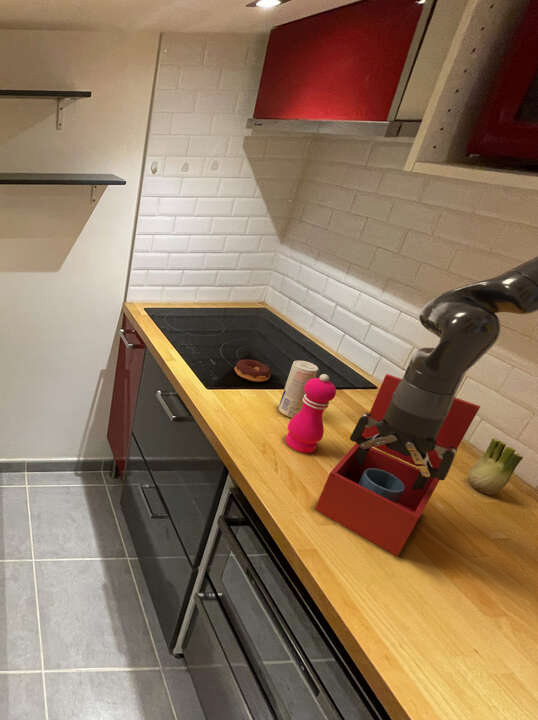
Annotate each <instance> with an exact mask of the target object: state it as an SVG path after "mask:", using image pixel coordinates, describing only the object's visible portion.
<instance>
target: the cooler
mask: <svg viewBox="0 0 538 720" xmlns="http://www.w3.org/2000/svg"><path fill="white" fill-rule="evenodd" d="M358 449H359V445H358V444H357V443H356V442H355V443H354V445H353V446H352V447H351V448H350V449H349V450H348V451H347V452H346V454H345V455H344V456H343V457H342V458H341V459H340V461H339V462H337V464H336V465H335V466H334V467H333V469H332V470H331V471H330V472H329V474H328V476H327V479H326V481H325V484H324V486H323V488H322V491H321V493H320V496H319V498H318V500H317V503H316V505H315V507H314V509H315V510H316V511H317V512H319V513H321V514H323V515H324V516H326V517H328V518H330V519H331V520H333V521H335V522H337V523H338V524H340V525H341V526H344V527H345V528H346V529H349V530H351V531H352V532H354V533H355V534H357V535H359V536H361V537H363V538H364V539H366V540H368V541H369V542H371V543H373V544H375V545H376V546H378V547H379V548H381V549H383V550H385V551H387V552H389V553H390V554H392V555H394V556H396V557H399V555H400V553H401V551H402V550H403V548H404V546H405V544H406V543H407V541H408V539H409V537H410V535H411V533H412V532H413V529H414V528H415V526H416V524H417V523H418V521H419V519H420V518H421V515H422V514H423V512H424V510H425V508H426V506H427V505H428V503H429V500H430V499H431V497H432V495H433V493H434V492H435V490H436V488H437V486H438V485H439V482H440V481H441V480H439V479H437V478H434V477H431V478H429V480H428V482H427V483H426V485H425V487H424V489H422V490H420V489H417V491H415V490H413V489H412V487H413V485H414V483H415V481H416V479H417V477H418V475H419V473H420V470H419V468H418V467H417V466H415V465H412V464H410V463H408V462H406V461H404V460H401V459H399V458H397V457H395V456H392V455H390V454H388V453H386V452H384V451H381V450H379V449H377V448H375V447H371V448H370V450H369V452H368V455H367V457H366V459H365V461H364V463H363V464H362V465H360V464H358V460H356V459H355V456H356V454H357V452H358ZM368 468H377V469H380V470H384V471H386V472H388V473H391V474H392V475H394V476H396V477H397V478H399V479H400V480H401V481H402V482H403V484H404V486H405V489H404V491H403V493H402V495H401V497H400V499H399V501H398V503H397V504H396V503H394V502H392V501H390V500H388V499H386V498H384V497H382V496H380V495H378V494H376V493H374V492H372V491H370V490H368V489H367V488H365V487H363V486H361V485H359V481H360V479H361V477H362V475H363V473H364V471H365V469H368Z"/></svg>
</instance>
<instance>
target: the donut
mask: <svg viewBox="0 0 538 720" xmlns="http://www.w3.org/2000/svg"><path fill="white" fill-rule="evenodd" d="M234 371H235V373H236V375H237V376H239V377H240V378H241V379H243V380H247V381H248V382H253V383H254V382H255V383H261V382H266V381H268V380H269V379H270V377H271V374H272V371H271V368H270V367H269V366H268V365H266V364H264V363H262V362H260V361H259V360H256V359H255V360H254V359H240V360H238V361H237V362H236V364H235V366H234Z"/></svg>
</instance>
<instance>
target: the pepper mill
mask: <svg viewBox="0 0 538 720" xmlns="http://www.w3.org/2000/svg"><path fill="white" fill-rule="evenodd" d="M304 391H305V393H306V394H305V395H304V398H303V402H304V404H303V407H302V409H301V410H300V412H299V413H298V414H296V415H295V416H294V417H293V418H292V417H291V419H289V421H288V424H287V430H288V432H287V433H286V437H285V443H286V444H287V445H288V446H289V447H290V448H291V449H293V450H295V451H298V452H300V453H303V454H304V453H305V454H311V453H313V452H315V450H316V449H317V446H318V442H320V441H322V440H323V437H324V433H325V428H324V427H325V426H324V423H323V415H324V412H325V410H326V409H328V408H329V405H330V402H331V401H332V400H334V399H335V397H336V395H337V388H336V386H335V385H334V384H333V382H331V381H330V376H329V375H328V374H326V373H323V374H320V376H319V377H315V378H313V379H310V380H309V381H308V382H307V383H306V384H305V387H304Z"/></svg>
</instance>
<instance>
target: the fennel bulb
mask: <svg viewBox="0 0 538 720" xmlns="http://www.w3.org/2000/svg"><path fill="white" fill-rule="evenodd" d="M523 459H524V456H523V455H522V454H520V453H519V452H516V449H515V448H514V447H511V446H507V444H506V443H505V442H503V441H502V440H501V439H499V438H496V437H494V438H493V437H492V438H491V441H490V443H489V445H488V447H487V449H486V450H485V452H484V454H482V456H481V457H480V458H479V459H477V461H476V462H475V463H474V464H473V466H472V467H471V468H470V470H469V472H468V476H467V482H468V484H469V485H470V486H471V487H472V488H474V489H475V490H476V491H478V492H480V493H483V494H485V495H488V496H494V495H496V494H497V493H499V492H500V491H502V490H503V489H504V487H506V486H507V484H508V483H509V481H510V479H511V478H512V476H513V474H514V472H515V471H516V468H517V467H518V465H519V464H520V463H521V461H522V460H523Z"/></svg>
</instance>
